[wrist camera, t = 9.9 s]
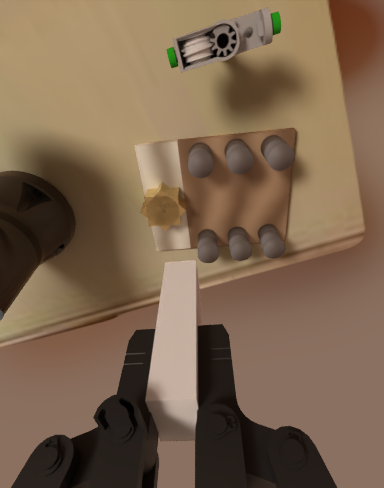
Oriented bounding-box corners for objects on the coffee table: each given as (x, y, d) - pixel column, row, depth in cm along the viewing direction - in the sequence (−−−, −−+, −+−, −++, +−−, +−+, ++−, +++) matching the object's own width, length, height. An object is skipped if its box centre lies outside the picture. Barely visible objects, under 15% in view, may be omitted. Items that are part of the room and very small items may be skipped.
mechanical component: (261, 44, 34) (283, 41, 25) (178, 70, 35) (173, 77, 27) (258, 12, 32) (279, -1, 24) (171, 42, 34) (163, 39, 25)
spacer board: (157, 247, 50) (153, 269, 45) (135, 144, 40) (127, 157, 35) (283, 237, 49) (293, 258, 44) (293, 127, 39) (308, 139, 34)
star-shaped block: (146, 222, 46) (143, 231, 44) (139, 182, 42) (136, 191, 40) (188, 220, 46) (187, 230, 43) (185, 180, 42) (184, 188, 40)
